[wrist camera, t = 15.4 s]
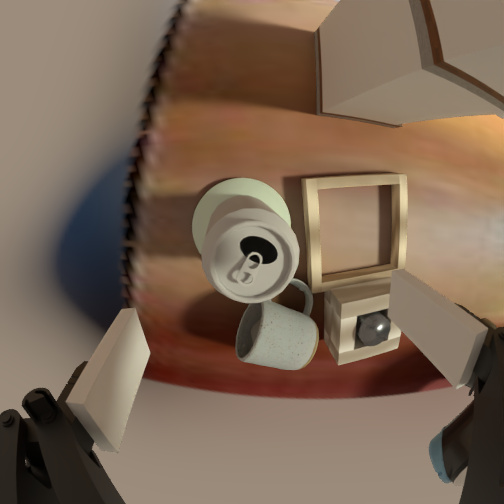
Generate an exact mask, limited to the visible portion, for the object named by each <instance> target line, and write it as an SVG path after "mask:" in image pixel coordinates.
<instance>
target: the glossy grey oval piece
mask: <svg viewBox="0 0 504 504" xmlns="http://www.w3.org/2000/svg"><path fill="white" fill-rule="evenodd" d="M390 329H391V325H390V322H389V321H388V320H387V319H386V318H385V317H384V316H383V315H382V314H381V313H380V311H375V312H371V313H367V314H363V315H359V316H357V321H356V334H357V335H358V336H359V338H360V339H361V340H362V342H363V343H364V344H365V345H366V346H376V345H378V344H380V343H381V342H383V341H384V340H385V339H386V338H387V336H388V335H389V332H390Z"/></svg>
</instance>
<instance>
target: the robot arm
mask: <svg viewBox="0 0 504 504" xmlns="http://www.w3.org/2000/svg"><path fill="white" fill-rule="evenodd" d="M387 316H388V317H389V318H390V319H391V320H392V321H393V322H394V323H395V325H396V326H397V327H398V328H399V329H400V330H401V331H402V332H403V333H404V334H405V335H406V336H407V337H408V338H409V339H410V340H411V341H412V342H413V343H414V344H415V345H416V346H417V347H418V348H419V349H420V351H421V352H422V353H423V354H424V355H425V356H426V357H427V358H428V359H429V360H430V361H431V362H432V363H433V364H434V366H435V367H436V368H437V369H438V370H439V371H440V372H441V373H442V374H443V375H444V377H445V378H446V379H447V380H448V381H449V382H450V383H451V384H452V386H453V387H454V388H455V389H458V388H459V387H461V386H463V385H466V386H468V387H470V388H471V390H470V392H469V396H470V395H471V394H472V392H473V391H474V400H473V401H472V402H471V403H470V404H469V405H468V406H467V407H466V408H465V409H464V410H463V411H462V412H461V413H460V414H459V415H458V416H457V417H456V418H455V419H454V420H452V422H450V423H449V424H448V425H447V426H445V427H444V428H443V429H442V431H441V432H440V433H439V434H437V435H436V436H435V437H434V438H433V439H432V440H431V442H430V445H429V455H430V459H431V462H432V464H433V467H434V469H435V471H436V472H437V473H438V476H439V478H440V479H441V480H442V481H443V482H444V483H449V482H453V483H454V485H455V486H463V491H462V495H461V499H460V503H459V504H504V327H499V328H497V327H496V325H495V324H494V323H492V322H491V321H490V320H488V319H480V318H479V317H477V316H475V315H474V314H473V313H472V312H470V311H469V310H468V309H466V308H465V307H463V306H461V305H459V304H456V303H453V302H452V301H450V300H449V299H447V298H446V297H445V296H443V295H442V294H440V293H439V292H437V291H436V290H434V289H433V288H432V287H430V286H429V285H427V284H426V283H424V282H423V281H421V280H420V279H418V278H417V277H415V276H414V275H412V274H410V273H409V272H407V271H406V270H404V269H399V270H394V271H392V274H391V287H390V297H389V307H388V315H387ZM149 355H150V351H149V348H148V345H147V342H146V339H145V337H144V334H143V331H142V328H141V325H140V322H139V318H138V315H137V312H136V309H135V308H130V309H122V310H121V311H120V313H119V314H118V316H117V317H116V319H115V320H114V322H113V324H112V325H111V326H110V328H109V329H108V331H107V333H106V334H105V336H104V337H103V339H102V340H101V342H100V344H99V345H98V347H97V348H96V350H95V352H94V353H93V355H92V357H91V358H90V360H89V361H84V362H83V363H82V364H81V365H79V366H78V367H77V368H76V370H75V371H74V373H73V374H72V376H71V378H70V379H69V381H68V384H66V386H65V388H64V389H63V391H62V393H61V394H60V396H59V398H58V400H57V401H55V399H54V397H53V396H52V394H51V393H50V391H49V390H48V389H46V388H37V389H34V390H32V391H31V392H29V393H28V394H27V395H26V396H25V397H24V399H23V401H22V407H23V408H24V409H25V410H26V412H27V414H28V415H29V416H30V418H25V419H23V418H22V417H21V415H20V414H19V413H18V411H16V410H14V409H9V410H6V411H4V412H2V413H1V415H0V504H125V502H124V501H123V499H122V498H121V496H120V495H119V493H118V491H117V490H116V488H115V487H114V485H113V484H112V482H111V480H110V479H109V477H108V475H107V473H106V472H105V470H104V468H103V466H102V465H101V463H100V461H99V459H98V457H97V456H96V454H95V453H94V451H93V450H92V446H93V444H94V442H95V443H96V445H97V446H98V447H99V448H100V449H101V450H102V451H109V452H116V453H118V452H119V449H120V445H121V442H122V438H123V434H124V431H125V427H126V424H127V421H128V418H129V415H130V411H131V408H132V405H133V402H134V399H135V396H136V393H137V390H138V387H139V384H140V381H141V378H142V375H143V372H144V369H145V367H146V364H147V361H148V358H149ZM25 460H26V463H25Z"/></svg>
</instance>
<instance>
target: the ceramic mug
mask: <svg viewBox="0 0 504 504" xmlns="http://www.w3.org/2000/svg"><path fill="white" fill-rule="evenodd" d="M290 284H293V285H295V286H296V287H298V288H299V290H300V291H304V293H305V297H306V301H305V308H304V311H303V313H300V312H298V311H295V310H293V309H289V308H286V307H284V306H282V305H280V304H277V303H275V302H272V301H271V299H269V300H266V301H263V302H260V303H250V304H249V306H248V307H247V309H246V310H245V312H244V314H243V317H242V319H241V322H240V324H239V328H238V331H237V336H236V354H237V357H238V359H239V360H241V361H243V362H248V363H253V364H258V365H263V366H269V367H275V368H279V369H285V370H298V369H301V368H303V367H305V366H306V365H307V364H308V363H309V362H310V361H311V359H312V358H313V356H314V354H315V352H316V349H317V346H318V340H319V333H318V328H317V325H316V323H315V321H314V320H313V319H311V318H310V313H311V311H312V307H313V295H312V293H311V290H310V288H309V287H308V286H307V285H306V284H305V283H304V282H302V281H301V280H299V279H296V278H292V279H291V281H290Z"/></svg>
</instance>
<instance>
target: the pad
mask: <svg viewBox="0 0 504 504" xmlns="http://www.w3.org/2000/svg"><path fill="white" fill-rule="evenodd" d="M238 195H249V196H252V197H255V198H258V199H260V200H261V201H263V202H264V203H265V204H267V205H268V206H269V207H270V208H272V209H273V210H274V211H275V212H276V213H277V214H278V215H279V216H280V217H281V218H283V219H284V220H285V221H286V222H287V223H288V225H289V226H290V228H291V220H290V214H289V211H288V208H287V206H286V204H285V202H284V200H283V199H282V198H281V196H280V195H279V194H278V193H277V192H276V191H275V190H274V189H273V188H271V187H270V186H268V185H267V184H265V183H263V182H260V181H258V180H255V179H250V178H234V179H229V180H226V181H223V182H221V183H219V184H217V185H215V186H214V187H212V188H211V189H210V190H209V191H208V192H206V194H205V195H204V196H203V197H202V198H201V200H200V202H199V203H198V205H197V207H196V209H195V212H194V215H193V221H192V233H193V238H194V242H195V245H196V247H197V249H198V251H199V253H200V254H201V251H202V247H203V243H204V239H205V235H206V231H207V227H208V224H209V221H210V217H211V214H212V213H213V212H214V210H215V209H216V207H217V206H218V205H219V204H221V203H222V202H223V201H225V200H226V199H228V198H231V197H234V196H238ZM201 255H202V254H201Z"/></svg>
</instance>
